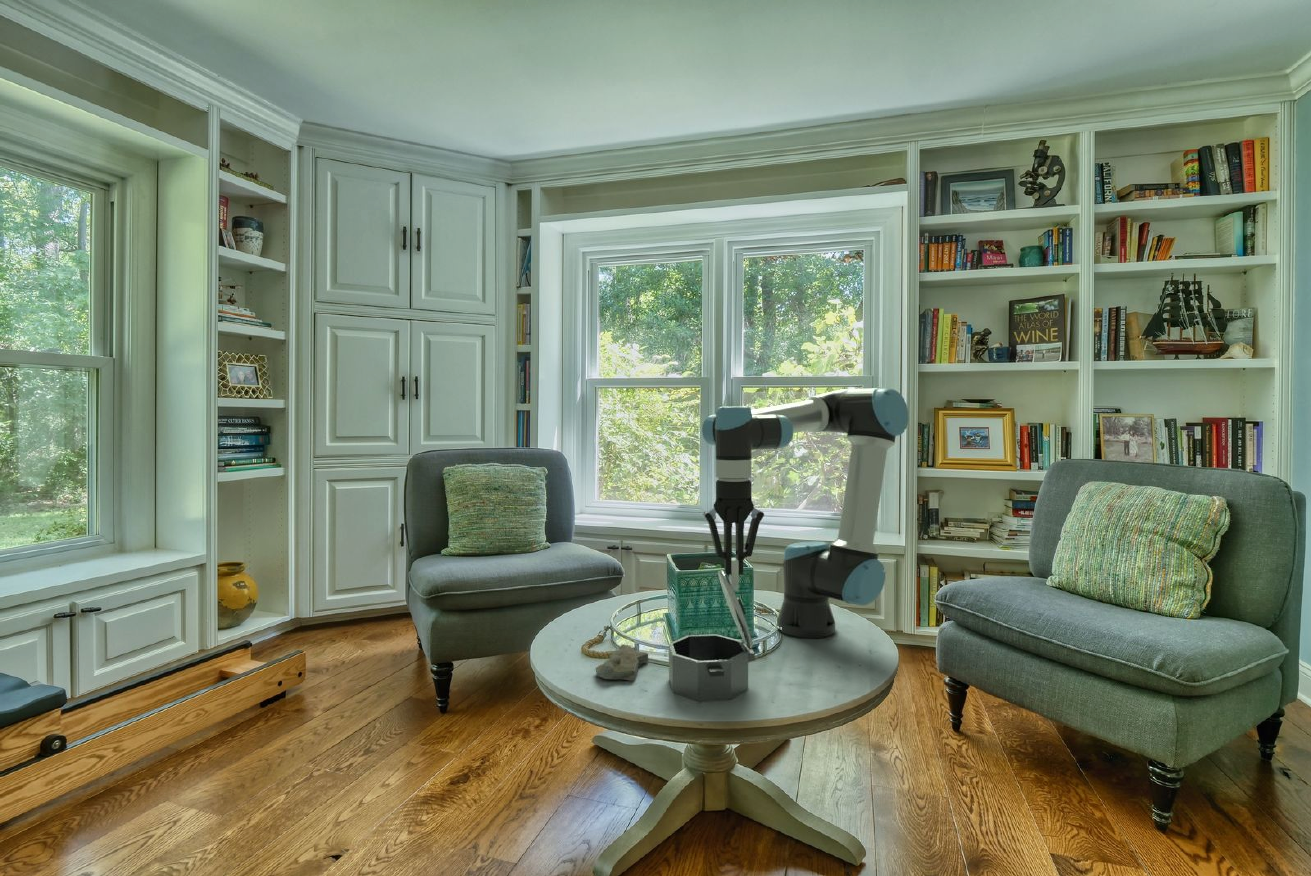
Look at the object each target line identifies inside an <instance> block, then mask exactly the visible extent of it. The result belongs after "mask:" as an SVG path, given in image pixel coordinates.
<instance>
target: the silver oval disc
mask: <svg viewBox="0 0 1311 876" xmlns="http://www.w3.org/2000/svg"><path fill="white" fill-rule="evenodd" d="M717 573H718V579H719V582H720V583H719V584H720V586H721V589H722V592H723V595H724V597H725V600H726V603H727V606H728V608H729V612H730V614H731V616H732V618H733V621H734V623H735V627H736V628H737V630H738V633H739V635H740V637H741V638H742V642H744V645H746V646H747V647H748V648H749V650H751V649H752V650H753V646H754V643H753V638H752V635H751V632H750V629H749V625H748V623H747V620H746V617H745V616H746V615H747V614H746V611H745V607H744V605H743V602H742V601H741V598H740V597H739V596H737V593H735V592H736V591H734V590H733V588H732V585H731V583H730V581H729V577H728V576H727V574H726V573H725V570H723V569H720V570H718V571H717Z"/></svg>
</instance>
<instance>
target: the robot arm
mask: <svg viewBox="0 0 1311 876" xmlns="http://www.w3.org/2000/svg"><path fill="white" fill-rule="evenodd" d="M715 413H716V414H711V415H708V416H707V417H706V418H705V419H704V421H703V423H702V427H701V428H702V429H701V430H702V431H701V432H702V437H703V439H704V441H705V442H706V443H707V444H709V445H711V446H715V477H716V478H717V480H715V501H714V503H713V507H712V508H711V509H709V510H708V511H704V512H703V513H702V514H703V517H704V518H705V520H706V521H707V523H708V527H709V532H710V534H711V540H712V543H713V547H714V551H715V555H716V556H717V557H718V558H722V559H724V564H723V565H724V566H723V567H724V572H725V574H726V576H727V575H729V577H728V579H729V581H730V583H731V585H732V588H733V590H734V592H739V590H740V588H739V586H740V585H739V583H740V582H739V575H743V573H744V561H745V559H746V558H748V557H751V556H752V555H753V552H754V548H755V547H754V546H755V543H756V539H757V535H758V531H759V526H760V523H761V521H762V520H763V518H764V516H765V513H764V512H763V511H762V510H760V509H757V508H756V507H755V505H754V503H753V501H752V495H753V494H752V481H751V480H750V479H751V478H752V459H753V458H752V451H754V450H755V451H757V450H777V449H782V448H786V447H787V446H788V445H790V443H791V442H792V439H793V436H794V434H797V433H801V432H806V431H808V432H810V433H813V434H814V433H815V434H816V433H822V432H829V433H842V434H846V435H847V436H846V438H847V440H848V442H849V443H850V445H851V449H850V457H849V463H848V468H847V469H848V471H847V476H846V480H845V481H846V483H845V490H844V495H843V502H842V509H841V515H840V522H839V529H838V535H837V538H836V539H835V540H834V541H832V542H831V543H830V544H829V543H828V542H826V541H800V542H795V543H790V544H788V545H786V547H785V548H784V553H783V559H782V560H783V601H782V602H781V606H780V609H779V612H778V616H777V617H776V618H777V619H776V627H777V626H779V627H782V630H781V631H780V633H783V634H785V635H787V636H792V637H795V638H800V639H801V638H802V639H821V638H822V639H823V638H827V637H831V636H833V635H834V634H835V633H836V620H835V616H834V613H833V610H832V608H831V605H830V601H829V600H830V598H831V599H833V600H837V601H841V602H844V603H846V604H847V605H856V606H861V607H862V606H863V607H864V606H868V605H870V604H872V603H873V602H874V601H875V600H876V599H877V598H878V597H879V596H880V595H881V592H882V590H883V589H884V586H885V582H886V570H885V566H884V564H883V563H882V562H881V561H880V560H878V559H879V551H878V550H877V549H876V547H875V546H874V541H875V540H874V539H875V534H876V530H877V529H876V528H877V521H878V516H879V515H878V514H879V507H880V501H881V495H882V487H883V481H884V475H885V467H886V461H887V454H888V450H889V449H890V448H892V447H893V446H894V445H895V443H896V438H897V437H898V436H900V435H903V434H904V432H905V431H906V429H907V428H908V424H909V409H908V405H907V403H906V401H905V398H904V397H903V395H902V394H901V393H900V392H899V391H898V390H895V389H893V388H883V387H875V388H874V387H873V388H845V389H844V388H843V389H838V390H835V391H834V390H833V391H829V392H827V393H821V394H817V395H812V396H808V397H806V398H805V399H804V400H803V401H799V402H794V403H793V402H792V403H787V404H782V405H781V404H780V405H774V406H769V407H763V408H757V409H751V407H750V406H746V405H745V406H720V407H718V408H717V409H716V412H715ZM716 514H717V515H718V516H719V518H720V519H721V521H722V522H723V547H722V544H721V538H720V535H719V530H718V526H717V523H716V521H715V520H716V519H717V515H716ZM749 516H750V517H751V520H750V523H749V529H748V532H747V536H746V541H745V543H744V540H745V539H744V538H745V537H744V536H745V534H744V533H745V531H744V530H745V521H746V520H747V519H748V518H749ZM733 524H735V525H734V527H735V557H733V550H732V549H733V534H732V533H733Z"/></svg>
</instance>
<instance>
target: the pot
mask: <svg viewBox="0 0 1311 876" xmlns="http://www.w3.org/2000/svg"><path fill="white" fill-rule="evenodd" d="M755 656H756V654H755V651H754V650H753V648H752V649H751V650H749V648H748V647H747V646H746V644H745V643H743V640H740V639H736V638H732V637H729V636H725V635H721V634H716V633H715V634H714V633H713V634H712V633H711V634H710V633H709V634H690V635H689V634H688V635H685V636H683V637H680V638H678V639H676V640H674V641H671V642H669V643H668V680H669V681H668V682H669V684H670V688H671V692H672V693H673V694H676V695H679V696H682V697H686V698H688V699H691V700H693V701H697V702H711V701H729V700H730V701H731V700H732V699H734V698H736V697H738V696H739V695H741V694H742V693H744V692H746V691H747V690H749V662H750V661H751V662H752V661H755V659H756V657H755Z"/></svg>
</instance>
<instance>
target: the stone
mask: <svg viewBox="0 0 1311 876" xmlns="http://www.w3.org/2000/svg"><path fill="white" fill-rule="evenodd" d="M649 661H650V659H649V653H648V652H645V651H638V650H635V649H634V648H633V647H632V646H630V645H627V644H623V643H622V644H621V645H620V646H619V648H618V649H616V650H614V651H612V653H611V654H610V655H609V658H608V659H606V661H604V662H603V663H602V664H599V665H598V666H597V667H595V672H596V673H595V674H596V675H597V677H599V678H603V679H605V680H626V681H630V682H632V681H635V680H636V679H637V675H638V672H639V667H640V666H642V665H643V664H645V663H647V662H649Z"/></svg>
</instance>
